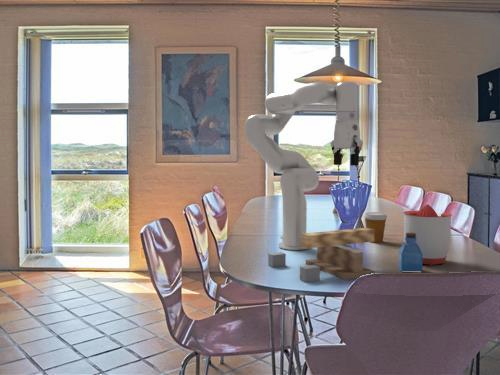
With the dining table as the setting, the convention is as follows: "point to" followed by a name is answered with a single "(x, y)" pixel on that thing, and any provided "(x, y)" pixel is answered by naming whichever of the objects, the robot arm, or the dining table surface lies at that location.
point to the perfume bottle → (410, 254)
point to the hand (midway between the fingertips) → (345, 165)
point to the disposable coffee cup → (376, 224)
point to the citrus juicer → (429, 233)
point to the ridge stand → (340, 261)
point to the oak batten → (337, 237)
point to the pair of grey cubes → (306, 272)
